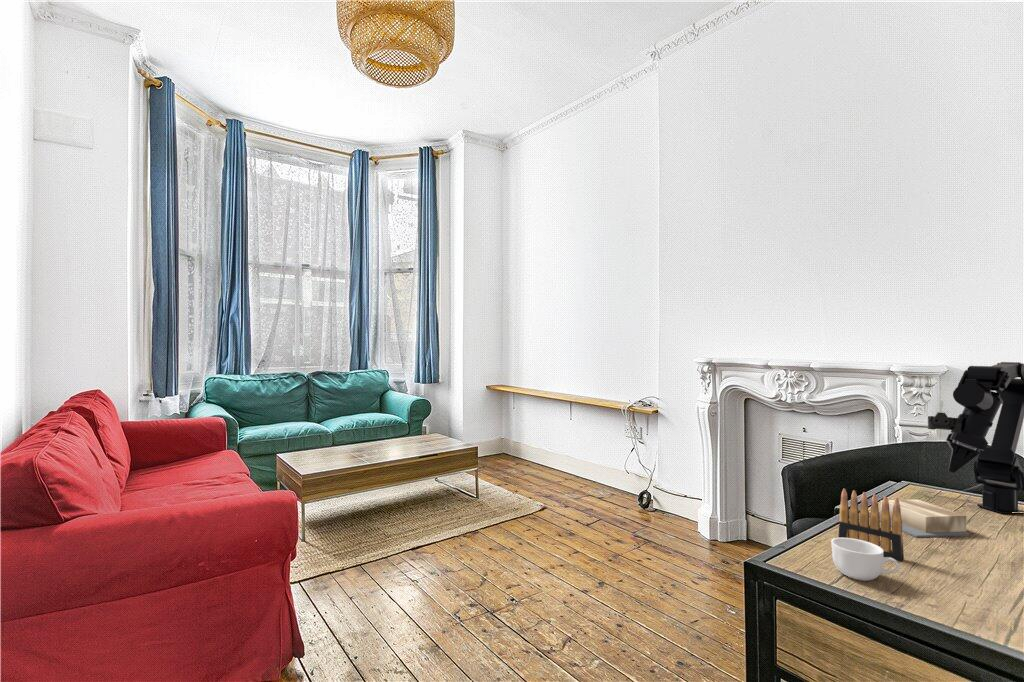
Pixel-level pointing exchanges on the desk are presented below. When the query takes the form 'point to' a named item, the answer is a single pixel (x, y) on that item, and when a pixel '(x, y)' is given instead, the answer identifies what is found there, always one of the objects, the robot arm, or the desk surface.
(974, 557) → the desk surface
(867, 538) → the ammunition clip
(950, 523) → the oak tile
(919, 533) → the mat
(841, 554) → the teacup
